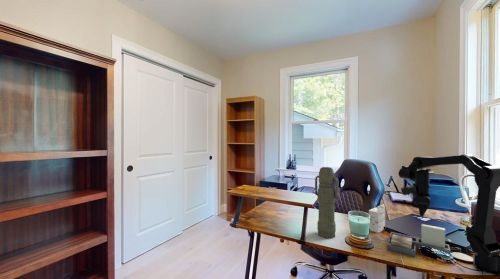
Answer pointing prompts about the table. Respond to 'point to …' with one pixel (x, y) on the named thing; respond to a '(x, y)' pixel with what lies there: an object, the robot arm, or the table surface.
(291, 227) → the table surface
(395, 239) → the offcut top
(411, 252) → the rack
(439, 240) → the pale grey block
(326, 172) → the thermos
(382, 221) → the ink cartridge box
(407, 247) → the block
